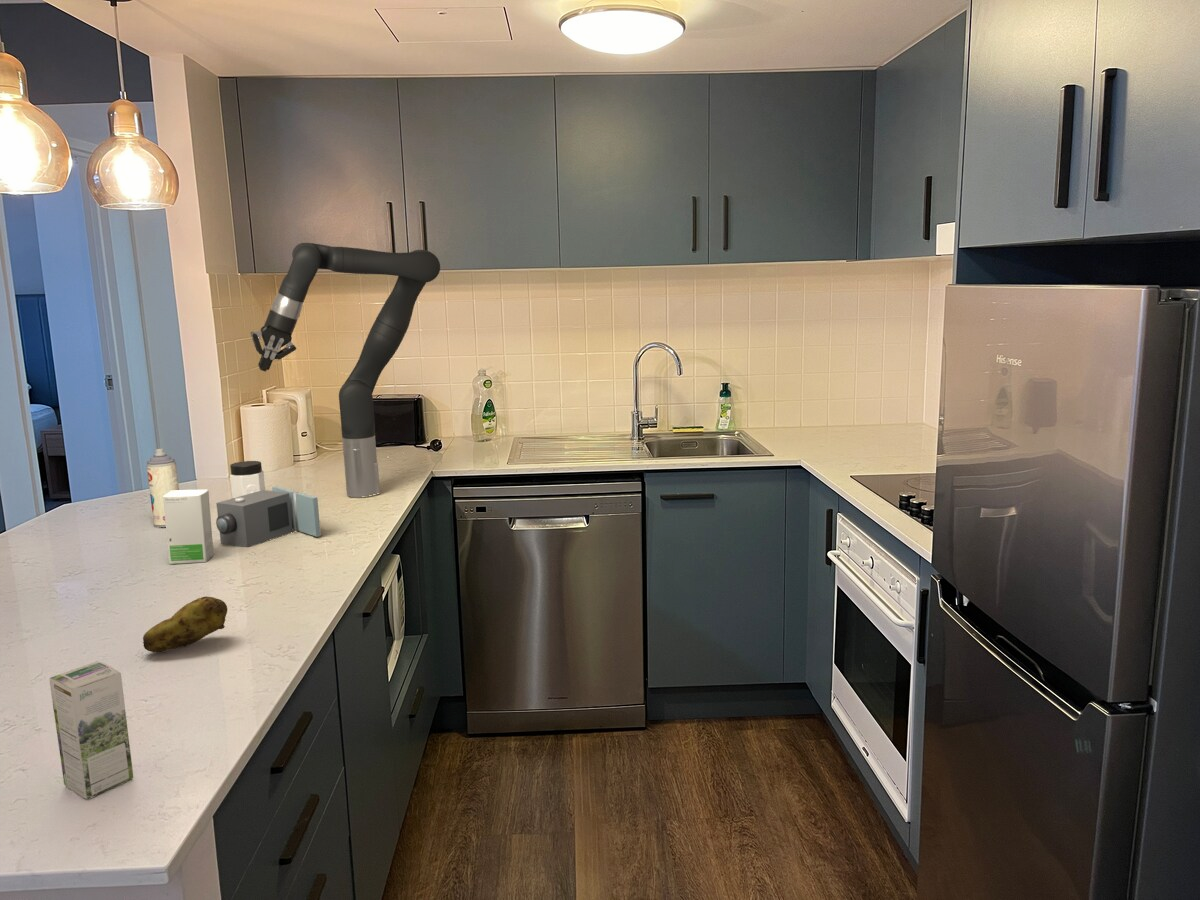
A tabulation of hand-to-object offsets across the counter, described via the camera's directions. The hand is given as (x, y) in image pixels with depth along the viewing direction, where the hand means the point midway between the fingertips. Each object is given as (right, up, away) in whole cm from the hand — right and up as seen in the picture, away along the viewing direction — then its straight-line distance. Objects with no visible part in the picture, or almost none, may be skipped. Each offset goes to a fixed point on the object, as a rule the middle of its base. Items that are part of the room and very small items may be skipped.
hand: (262, 369), depth 243 cm
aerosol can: (-19, -42, -15) cm, 48 cm away
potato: (+24, -56, -94) cm, 112 cm away
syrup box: (+33, -63, -136) cm, 153 cm away
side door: (+19, -43, -25) cm, 53 cm away
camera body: (+10, -44, -30) cm, 54 cm away
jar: (-5, -38, +4) cm, 39 cm away
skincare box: (+2, -47, -45) cm, 65 cm away
